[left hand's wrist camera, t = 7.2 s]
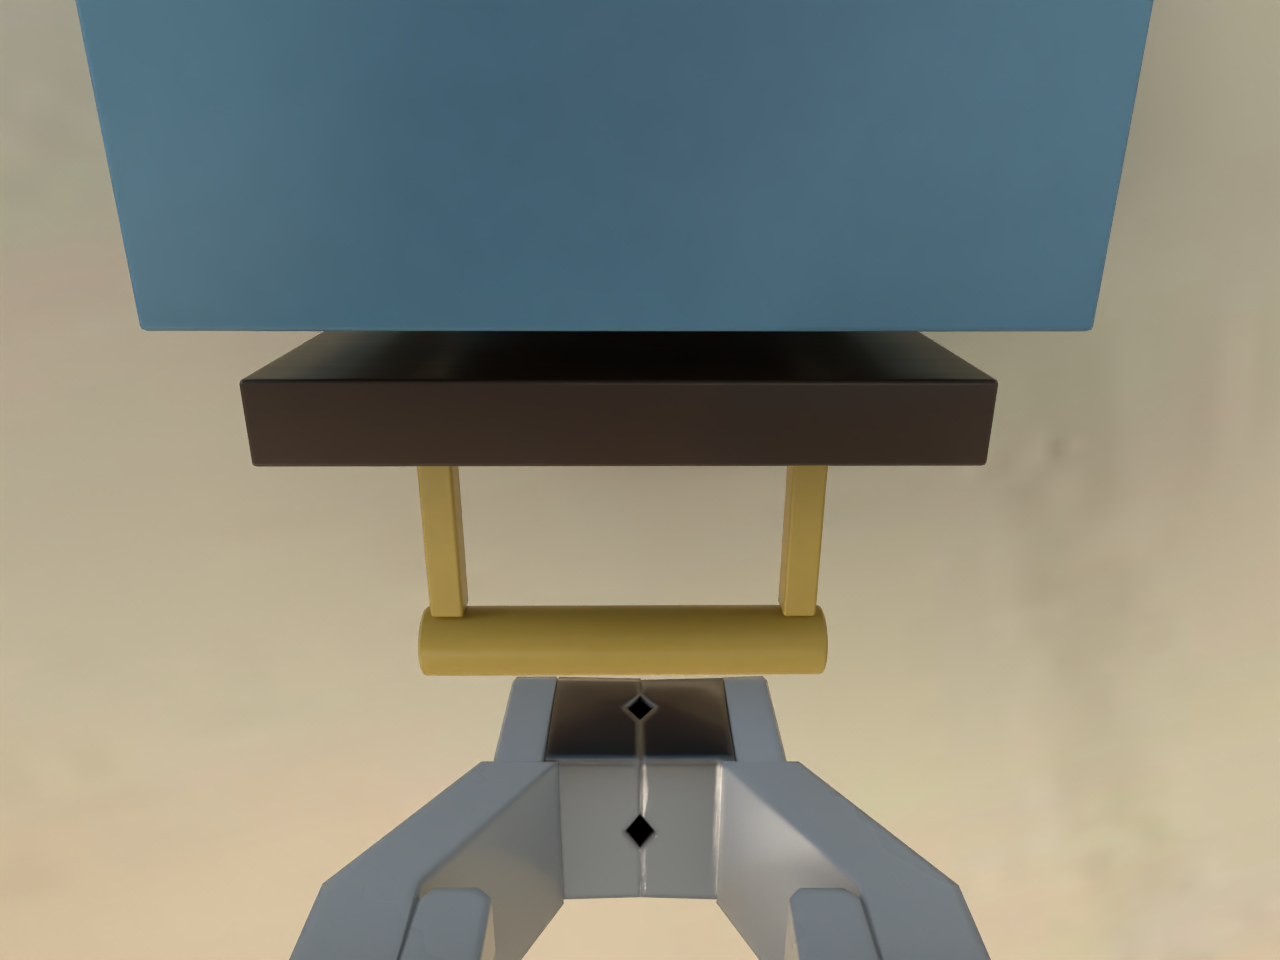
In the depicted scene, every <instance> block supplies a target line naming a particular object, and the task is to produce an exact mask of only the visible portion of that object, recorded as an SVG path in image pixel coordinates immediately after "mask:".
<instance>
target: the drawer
mask: <svg viewBox="0 0 1280 960" xmlns="http://www.w3.org/2000/svg"><path fill="white" fill-rule="evenodd" d="M997 388H998V382H997V380H996V379H994V378H992V377H991V376H989V375H988V374H986V373H984V372H983V371H981V370H979V369H978V368H976V367H975V366H973V365H971V364H970V363H968V362H967V361H965V360H963V359H962V358H960V357H958V356H957V355H955V354H954V353H952V352H950V351H949V350H947V349H946V348H944V347H942V346H941V345H939V344H938V343H936V342H934V341H933V340H931V339H929V338H928V337H926V336H925V335H923V334H921V333H920V332H918V331H324V332H322V333H321V334H319V335H317V336H315V337H314V338H312V339H310V340H309V341H307V342H305V343H304V344H302V345H300V346H298V347H297V348H295V349H293V350H292V351H290V352H288V353H286V354H285V355H283V356H281V357H280V358H278V359H276V360H275V361H273V362H271V363H269V364H268V365H266V366H264V367H263V368H261V369H259V370H258V371H256V372H254V373H252V374H251V375H249V376H247V377H246V378H244V379H242V380H241V381H240V390H241V396H242V402H243V408H244V414H245V421H246V427H247V433H248V439H249V445H250V451H251V458H252V463H253V465H254V466H417V470H418V481H419V492H420V503H421V513H422V524H423V535H424V546H425V557H426V568H427V579H428V589H429V600H430V606H429V607H427V608H426V609H425V610H424V613H423V615H422V618H421V623H420V629H419V640H418V653H419V662H420V667H421V670H422V672H423V674H424V675H427V676H487V675H732V674H821V673H823V671H824V669H825V666H826V662H827V653H828V638H827V627H826V621H825V617H824V613H823V611H822V609H821V607H820V606H818V605H816V600H817V588H818V576H819V564H820V552H821V540H822V528H823V516H824V504H825V492H826V480H827V468H828V466H981V465H985V463H986V461H987V454H988V447H989V441H990V434H991V427H992V421H993V414H994V407H995V401H996V394H997ZM458 466H787V478H786V494H785V509H784V524H783V539H782V554H781V569H780V584H779V603H780V605H618V606H467V603H468V590H467V577H466V564H465V550H464V537H463V523H462V510H461V496H460V483H459V470H458Z"/></svg>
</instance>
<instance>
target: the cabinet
mask: <svg viewBox="0 0 1280 960" xmlns="http://www.w3.org/2000/svg"><path fill="white" fill-rule="evenodd" d="M76 5H77V10H78V15H79V20H80V25H81V30H82V35H83V40H84V45H85V50H86V55H87V60H88V65H89V70H90V75H91V80H92V85H93V90H94V95H95V100H96V106H97V111H98V116H99V121H100V126H101V131H102V136H103V141H104V146H105V151H106V156H107V161H108V166H109V171H110V176H111V181H112V186H113V191H114V196H115V201H116V206H117V211H118V216H119V221H120V226H121V231H122V236H123V241H124V247H125V252H126V257H127V262H128V267H129V272H130V277H131V282H132V287H133V292H134V297H135V302H136V307H137V312H138V317H139V322H140V326H141V328H142V329H144V330H147V331H1088V330H1091V329H1092V327H1093V323H1094V318H1095V312H1096V307H1097V301H1098V296H1099V291H1100V285H1101V280H1102V275H1103V269H1104V264H1105V258H1106V253H1107V248H1108V242H1109V237H1110V231H1111V226H1112V221H1113V215H1114V210H1115V204H1116V199H1117V194H1118V188H1119V183H1120V177H1121V172H1122V167H1123V161H1124V156H1125V151H1126V145H1127V140H1128V134H1129V129H1130V124H1131V118H1132V113H1133V107H1134V102H1135V97H1136V91H1137V86H1138V80H1139V75H1140V70H1141V64H1142V59H1143V53H1144V48H1145V43H1146V37H1147V32H1148V27H1149V21H1150V16H1151V10H1152V5H1153V0H76Z"/></svg>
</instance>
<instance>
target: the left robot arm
mask: <svg viewBox="0 0 1280 960" xmlns="http://www.w3.org/2000/svg"><path fill="white" fill-rule="evenodd" d="M623 897H655V898H691V899H717V904H718V905H719V907H720V908H721V909H722V911H723V912H724V913H725V915H726V916H727V917H728V919H729V920H730V921H731V923H732V924H733V925H734V927H735V928H736V929H737V931H738V932H739V933H740V935H741V936H742V937H743V939H744V940H745V941H746V943H747V944H748V945H749V947H750V948H751V949H752V951H753V952H754V953H755V955H756V956H757V957H758V959H759V960H991V959H990V957H989V955H988V952H987V950H986V948H985V945H984V943H983V941H982V938H981V936H980V934H979V931H978V929H977V927H976V925H975V922H974V920H973V918H972V915H971V913H970V911H969V908H968V906H967V904H966V901H965V899H964V897H963V895H962V892H961V890H960V888H959V885H957V884H956V883H955V882H954V881H952V880H951V879H950V878H948V877H947V876H946V875H945V874H943V873H942V872H941V871H939V870H938V869H937V868H935V867H934V866H933V865H932V864H930V863H929V862H928V861H926V860H925V859H924V858H923V857H921V856H920V855H919V854H917V853H916V852H915V851H914V850H912V849H911V848H910V847H908V846H907V845H906V844H905V843H903V842H902V841H901V840H899V839H898V838H897V837H895V836H894V835H893V834H892V833H890V832H889V831H888V830H886V829H885V828H884V827H883V826H881V825H880V824H879V823H877V822H876V821H875V820H874V819H872V818H871V817H870V816H868V815H867V814H866V813H865V812H863V811H862V810H861V809H859V808H858V807H857V806H855V805H854V804H853V803H852V802H850V801H849V800H848V799H846V798H845V797H844V796H843V795H841V794H840V793H839V792H837V791H836V790H835V789H834V788H832V787H831V786H830V785H828V784H827V783H826V782H824V781H823V780H822V779H821V778H819V777H818V776H817V775H815V774H814V773H813V772H812V771H810V770H809V769H808V768H806V767H805V766H804V765H803V764H801V763H800V762H787V761H786V757H785V753H784V749H783V744H782V740H781V736H780V732H779V728H778V724H777V720H776V716H775V712H774V708H773V704H772V700H771V696H770V692H769V688H768V683H767V680H766V679H765V678H764V677H763V676H752V677H725V678H702V679H659V680H640V679H635V678H585V677H559V678H558V679H557V678H556V677H517V678H516V679H515V680H514V681H513V683H512V687H511V691H510V695H509V699H508V703H507V707H506V711H505V715H504V720H503V724H502V728H501V732H500V736H499V740H498V744H497V748H496V753H495V757H494V761H493V762H480V763H479V764H478V765H476V766H475V767H474V768H472V769H471V770H470V771H468V772H467V773H466V774H465V775H463V776H462V777H461V778H459V779H458V780H457V781H455V782H454V783H453V784H452V785H450V786H449V787H448V788H446V789H445V790H444V791H442V792H441V793H440V794H439V795H437V796H436V797H435V798H433V799H432V800H431V801H430V802H428V803H427V804H426V805H424V806H423V807H422V808H420V809H419V810H418V811H417V812H415V813H414V814H413V815H411V816H410V817H409V818H407V819H406V820H405V821H404V822H402V823H401V824H400V825H398V826H397V827H396V828H395V829H393V830H392V831H391V832H389V833H388V834H387V835H385V836H384V837H383V838H382V839H380V840H379V841H378V842H376V843H375V844H374V845H372V846H371V847H370V848H369V849H367V850H366V851H365V852H363V853H362V854H361V855H359V856H358V857H357V858H356V859H354V860H353V861H352V862H350V863H349V864H348V865H347V866H345V867H344V868H343V869H341V870H340V871H339V872H337V873H336V874H335V875H334V876H332V877H331V878H330V879H328V880H327V881H326V882H324V883H323V884H322V886H321V889H320V891H319V893H318V896H317V898H316V900H315V902H314V905H313V907H312V909H311V911H310V914H309V916H308V918H307V921H306V923H305V925H304V927H303V930H302V932H301V934H300V936H299V939H298V941H297V943H296V946H295V948H294V950H293V952H292V955H291V957H290V959H289V960H521V959H522V958H523V957H524V955H525V954H526V953H527V951H528V950H529V949H530V947H531V946H532V945H533V943H534V942H535V941H536V939H537V938H538V937H539V935H540V934H541V933H542V931H543V930H544V929H545V927H546V926H547V925H548V924H549V922H550V921H551V920H552V918H553V917H554V916H555V914H556V913H557V912H558V910H559V909H560V908H561V906H562V905H563V899H588V898H623Z"/></svg>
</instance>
